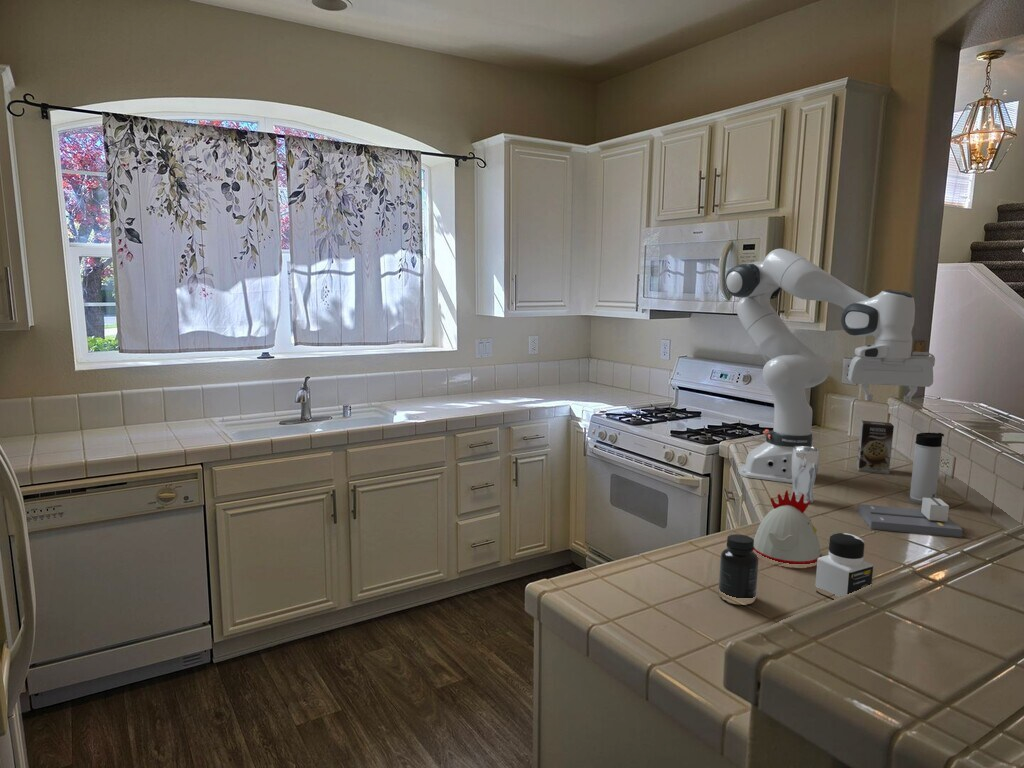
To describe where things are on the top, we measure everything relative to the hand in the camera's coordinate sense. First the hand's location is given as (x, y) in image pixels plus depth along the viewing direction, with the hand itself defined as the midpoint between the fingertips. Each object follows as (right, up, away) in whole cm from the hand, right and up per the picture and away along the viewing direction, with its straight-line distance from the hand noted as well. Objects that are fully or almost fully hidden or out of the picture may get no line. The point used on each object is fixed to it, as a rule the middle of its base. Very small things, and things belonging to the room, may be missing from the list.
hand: (887, 401), depth 182 cm
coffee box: (+17, -24, +40) cm, 50 cm away
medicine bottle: (-38, -37, -52) cm, 74 cm away
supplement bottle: (-59, -37, -53) cm, 88 cm away
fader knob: (+5, -29, -13) cm, 32 cm away
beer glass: (-20, -28, +7) cm, 36 cm away
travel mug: (+14, -29, +7) cm, 33 cm away
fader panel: (-1, -31, -11) cm, 33 cm away
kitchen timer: (-41, -34, -32) cm, 62 cm away
